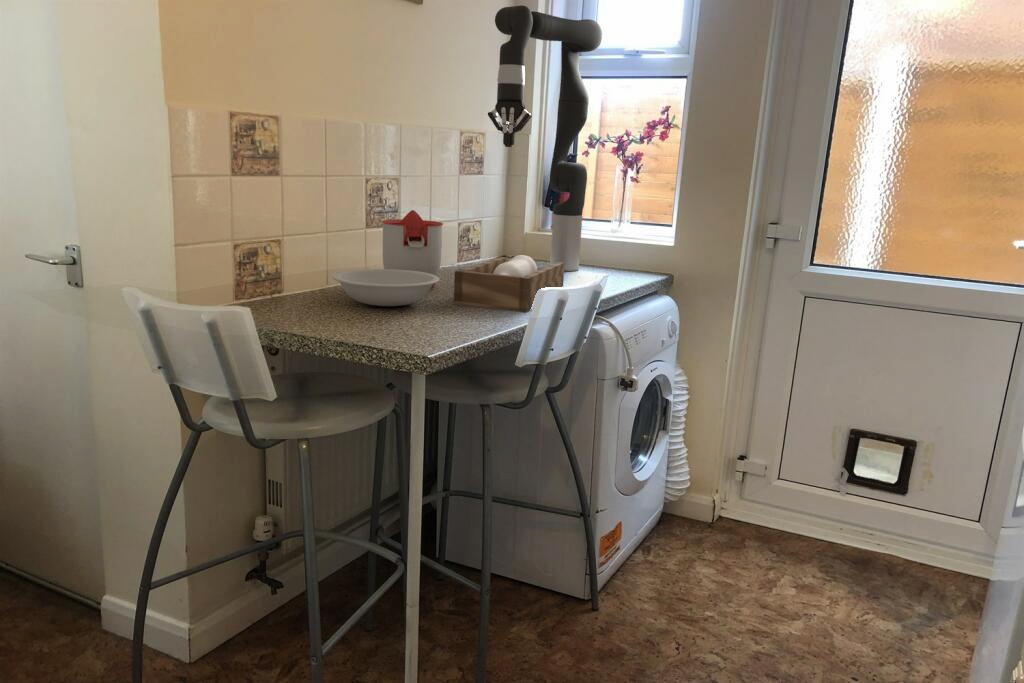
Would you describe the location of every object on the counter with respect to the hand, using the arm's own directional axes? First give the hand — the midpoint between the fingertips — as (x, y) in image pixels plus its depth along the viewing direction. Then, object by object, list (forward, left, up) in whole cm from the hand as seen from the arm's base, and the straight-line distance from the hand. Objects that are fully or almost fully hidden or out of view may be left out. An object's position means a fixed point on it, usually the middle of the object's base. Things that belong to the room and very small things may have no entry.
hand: (508, 146), depth 227 cm
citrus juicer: (+34, -13, -37) cm, 52 cm away
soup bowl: (+58, -8, -37) cm, 69 cm away
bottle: (+15, +11, -32) cm, 37 cm away
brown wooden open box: (+33, +14, -37) cm, 51 cm away
